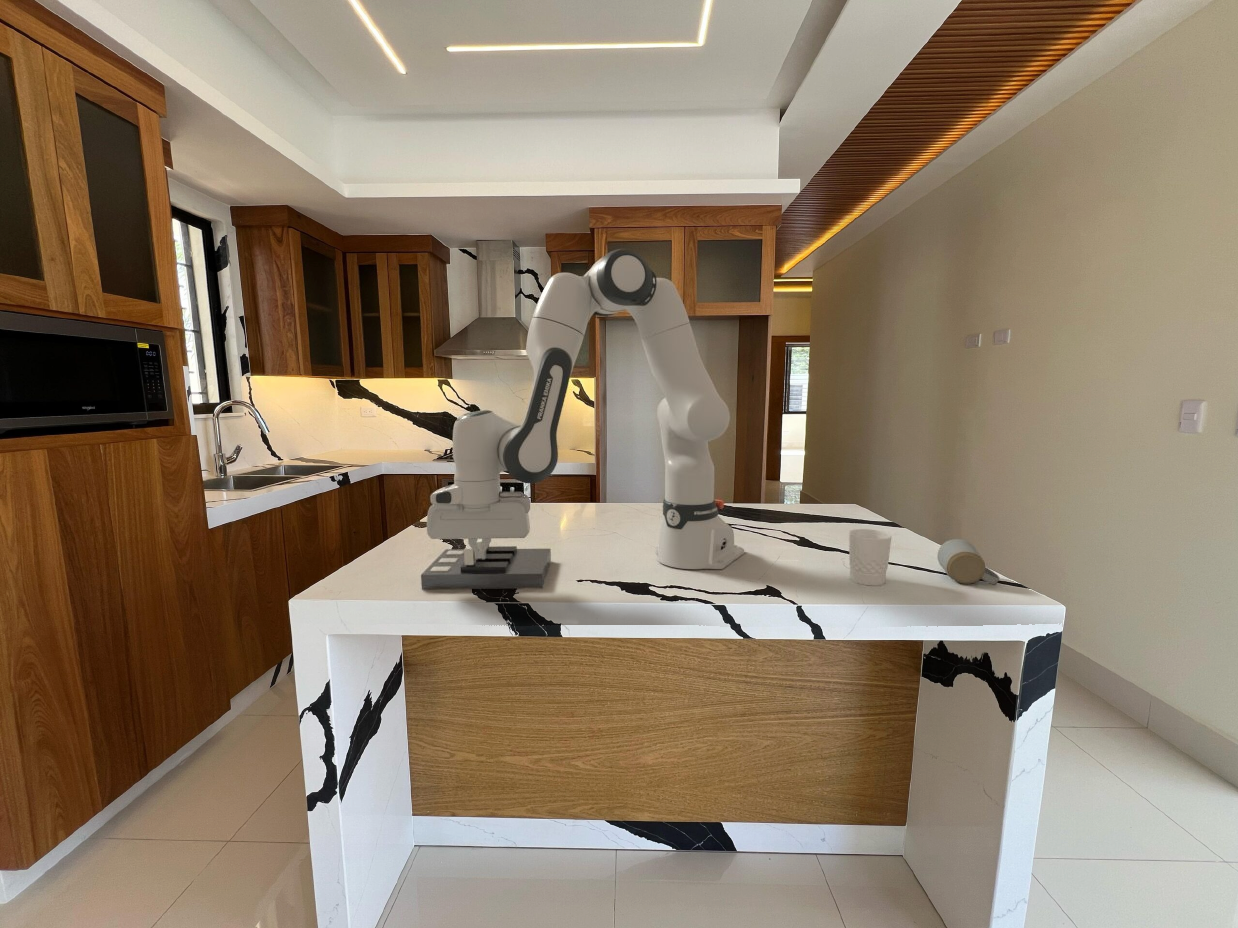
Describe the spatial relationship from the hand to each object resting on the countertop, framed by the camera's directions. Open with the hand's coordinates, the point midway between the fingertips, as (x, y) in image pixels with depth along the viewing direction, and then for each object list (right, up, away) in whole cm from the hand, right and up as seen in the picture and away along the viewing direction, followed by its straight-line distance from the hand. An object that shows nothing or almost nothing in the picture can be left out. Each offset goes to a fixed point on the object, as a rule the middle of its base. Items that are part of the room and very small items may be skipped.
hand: (480, 558), depth 112 cm
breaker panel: (+1, -4, +6) cm, 8 cm away
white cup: (+80, -5, +2) cm, 80 cm away
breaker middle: (-2, 0, +6) cm, 6 cm away
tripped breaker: (-2, -1, 0) cm, 2 cm away
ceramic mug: (+101, -5, +3) cm, 101 cm away
